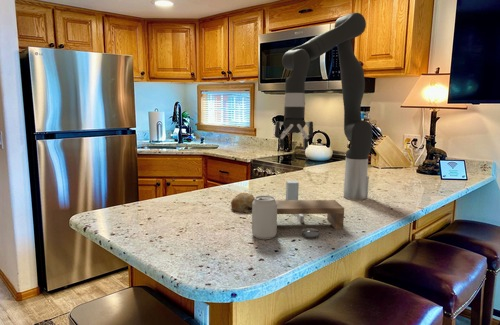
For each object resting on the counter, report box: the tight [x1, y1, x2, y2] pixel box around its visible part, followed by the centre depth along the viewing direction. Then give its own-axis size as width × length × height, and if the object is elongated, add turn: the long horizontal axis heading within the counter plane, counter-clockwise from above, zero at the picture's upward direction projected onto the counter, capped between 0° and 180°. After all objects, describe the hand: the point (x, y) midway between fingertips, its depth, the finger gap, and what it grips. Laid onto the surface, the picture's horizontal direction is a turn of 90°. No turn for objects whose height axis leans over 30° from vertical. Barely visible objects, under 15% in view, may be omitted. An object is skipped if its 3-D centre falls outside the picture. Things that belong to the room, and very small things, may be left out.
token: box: [301, 227, 320, 240], centre depth 112 cm, size 5×5×2 cm
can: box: [251, 194, 278, 240], centre depth 110 cm, size 8×8×12 cm
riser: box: [275, 199, 345, 230], centre depth 121 cm, size 24×10×7 cm, turn 94°
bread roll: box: [230, 192, 255, 213], centre depth 139 cm, size 10×10×8 cm
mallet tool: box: [285, 180, 305, 224], centre depth 134 cm, size 4×21×10 cm, turn 4°
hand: (293, 149), depth 139 cm, fingers open, 8 cm apart
